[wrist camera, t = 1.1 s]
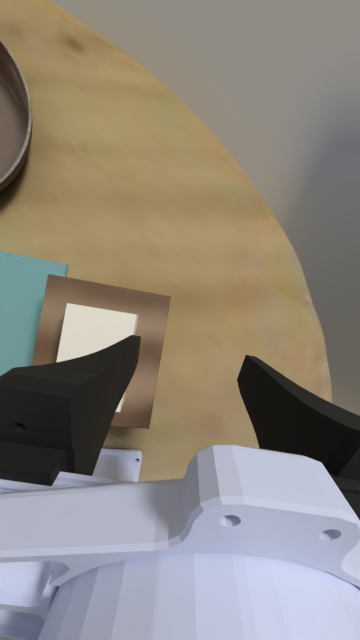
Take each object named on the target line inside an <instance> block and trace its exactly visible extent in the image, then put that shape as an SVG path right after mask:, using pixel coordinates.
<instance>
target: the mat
mask: <svg viewBox="0 0 360 640" xmlns="http://www.w3.org/2000/svg"><path fill="white" fill-rule="evenodd" d="M67 269H68V265H67V264H61V263H56V262H51V261H46V260H41V259H36V258H31V257H26V256H21V255H16V254H11V253H5V252H0V376H1V375H3V374H4V373H6V372H7V371H9V370H10V369H12V368H14V367H25V366H31V364H32V359H33V354H34V348H35V343H36V337H37V332H38V326H39V321H40V315H41V310H42V305H43V299H44V294H45V288H46V283H47V277H48V274H51V275H57V276H62V277H66V275H67Z"/></svg>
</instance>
